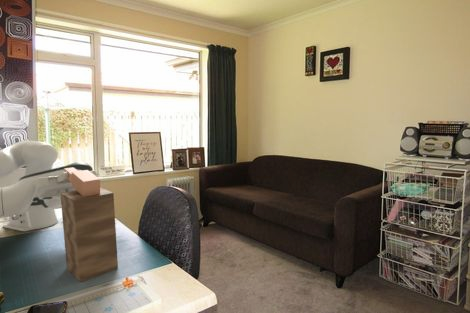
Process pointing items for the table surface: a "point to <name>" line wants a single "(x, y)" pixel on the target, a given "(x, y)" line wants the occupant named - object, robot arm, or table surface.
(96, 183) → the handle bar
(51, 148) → the robot arm
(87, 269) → the walnut pedestal
